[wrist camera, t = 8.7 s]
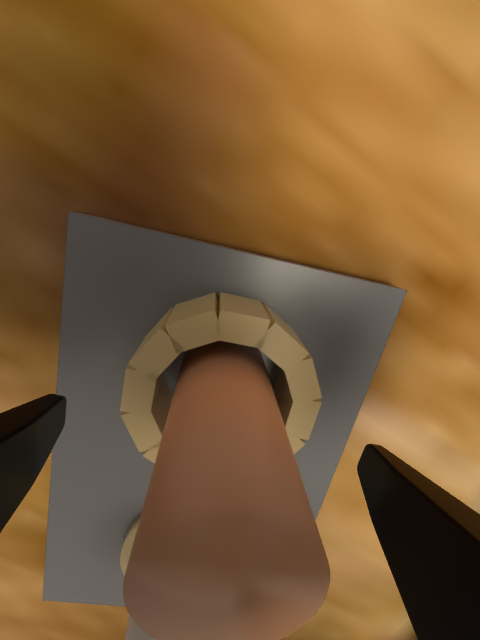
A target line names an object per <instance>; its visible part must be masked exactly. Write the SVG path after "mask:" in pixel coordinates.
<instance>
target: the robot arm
mask: <svg viewBox="0 0 480 640" xmlns="http://www.w3.org/2000/svg"><path fill="white" fill-rule="evenodd" d="M66 405H67V399H66V397H65V396H62V395H56V394H48V395H45V396H43V397H40V398H38V399H35V400H33V401H30V402H28V403H25V404H23V405H20V406H17V407H15V408H12V409H10V410H7V411H5V412H2V413H0V532H1V531H2V529H3V528H4V527H5V525H6V524H7V522H8V521H9V519H10V518H11V516H12V515H13V513H14V512H15V510H16V509H17V507H18V506H19V504H20V503H21V502H22V500H23V499H24V497H25V496H26V494H27V493H28V491H29V490H30V488H31V487H32V485H33V483H34V482H35V480H36V478H37V477H38V475H39V473H40V471H41V469H42V467H43V466H44V464H45V462H46V460H47V458H48V456H49V454H50V453H51V451H52V449H53V447H54V445H55V443H56V441H57V439H58V438H59V436H60V434H61V432H62V430H63V428H64V425H65V418H66ZM357 471H358V476H359V479H360V482H361V486H362V489H363V493H364V496H365V500H366V503H367V506H368V510H369V513H370V517H371V520H372V523H373V526H374V528H375V531H376V534H377V536H378V539H379V541H380V544H381V547H382V549H383V552H384V554H385V557H386V559H387V562H388V565H389V567H390V570H391V572H392V575H393V577H394V580H395V582H396V585H397V588H398V590H399V593H400V595H401V598H402V600H403V603H404V606H405V608H406V611H407V613H408V616H409V618H410V621H411V624H412V626H413V629H414V631H415V634H416V636H417V639H418V640H480V514H478V513H477V512H475V511H474V510H473V509H471V508H470V507H468V506H467V505H465V504H464V503H463V502H461V501H460V500H458V499H457V498H455V497H454V496H452V495H451V494H450V493H448V492H447V491H445V490H444V489H442V488H441V487H440V486H438V485H437V484H435V483H434V482H432V481H431V480H430V479H428V478H427V477H425V476H424V475H422V474H421V473H420V472H418V471H417V470H415V469H414V468H412V467H411V466H410V465H408V464H407V463H405V462H404V461H402V460H401V459H400V458H398V457H397V456H395V455H394V454H392V453H391V452H390V451H388V450H387V449H385V448H384V447H382V446H380V445H375V444H367V445H366V446H365V448H364V451H363V453H362V455H361V458H360V460H359V463H358V466H357Z"/></svg>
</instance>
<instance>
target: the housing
mask: <svg viewBox="0 0 480 640" xmlns="http://www.w3.org/2000/svg"><path fill="white" fill-rule="evenodd" d="M406 292H407V290H404V289H401V288H398V287H396V286H393V285H388V284H384V283H380V282H375V281H371V280H367V279H363V278H358V277H354V276H350V275H346V274H341V273H337V272H333V271H329V270H324V269H320V268H316V267H312V266H307V265H303V264H299V263H294V262H290V261H286V260H282V259H277V258H273V257H269V256H265V255H260V254H256V253H252V252H248V251H243V250H239V249H235V248H231V247H226V246H222V245H218V244H213V243H209V242H205V241H201V240H196V239H192V238H188V237H184V236H179V235H175V234H171V233H167V232H162V231H158V230H154V229H150V228H145V227H141V226H137V225H132V224H128V223H124V222H120V221H115V220H111V219H107V218H103V217H98V216H94V215H90V214H86V213H81V212H68V223H67V238H66V254H65V269H64V284H63V299H62V314H61V329H60V344H59V360H58V375H57V390H56V395H62V396H65V397H66V399H67V405H66V418H65V425H64V428H63V430H62V432H61V434H60V436H59V438H58V439H57V441H56V443H55V445H54V447H53V450H52V465H51V481H50V496H49V511H48V526H47V541H46V556H45V571H44V586H43V600H44V601H58V602H72V603H85V604H99V605H113V606H126V605H125V602H124V598H123V580H124V576H125V572H126V568H127V565H128V561H129V557H130V554H131V550H132V546H133V542H134V539H135V535H136V531H137V528H138V524H139V520H140V516H141V513H142V509H143V505H144V502H145V498H146V494H147V490H148V487H149V483H150V479H151V475H152V472H153V468H154V464H155V461H156V457H157V453H158V449H159V446H160V442H161V438H162V435H163V431H164V427H165V423H166V420H167V416H168V412H169V409H170V405H171V401H172V397H173V394H174V390H175V386H176V383H177V379H178V375H179V371H180V368H181V364H182V360H183V357H184V355H185V353H186V352H187V350H190V349H193V348H196V347H200V346H203V345H206V344H209V343H213V342H216V341H219V340H220V341H225V342H230V343H235V344H240V345H245V346H251V347H256V348H258V349H259V351H260V353H261V355H262V357H263V360H264V363H265V366H266V369H267V372H268V376H269V379H270V382H271V385H272V388H273V391H274V394H275V397H276V400H277V404H278V407H279V410H280V413H281V416H282V419H283V422H284V425H285V429H286V432H287V435H288V438H289V441H290V444H291V447H292V450H293V454H294V457H295V460H296V463H297V466H298V469H299V472H300V475H301V478H302V482H303V485H304V488H305V491H306V494H307V497H308V500H309V503H310V507H311V510H312V513H313V516H314V519H315V520H316V517H317V515H318V512H319V510H320V507H321V505H322V502H323V500H324V497H325V495H326V492H327V490H328V487H329V485H330V482H331V480H332V477H333V475H334V472H335V470H336V467H337V465H338V462H339V460H340V457H341V455H342V452H343V450H344V447H345V445H346V442H347V440H348V437H349V435H350V432H351V430H352V427H353V425H354V422H355V420H356V417H357V415H358V412H359V410H360V407H361V405H362V402H363V400H364V397H365V395H366V392H367V390H368V387H369V385H370V382H371V380H372V377H373V375H374V372H375V370H376V367H377V365H378V362H379V360H380V357H381V355H382V352H383V350H384V347H385V345H386V342H387V340H388V337H389V335H390V332H391V330H392V327H393V325H394V322H395V320H396V317H397V315H398V312H399V310H400V307H401V305H402V302H403V300H404V297H405V295H406ZM124 640H156V639H155V638H153V637H151V636H150V635H149V634H147V633H146V632H144V631H143V630H142V629H141V628H140V627H139V626H138V625H137V624H136V623H135V621H134V620H133V619H132V617H131V616H129V620H128V625H127V629H126V633H125V638H124Z"/></svg>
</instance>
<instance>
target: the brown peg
mask: <svg viewBox="0 0 480 640" xmlns="http://www.w3.org/2000/svg"><path fill="white" fill-rule="evenodd" d="M329 583H330V568H329V563H328V560H327V556H326V553H325V550H324V547H323V544H322V541H321V538H320V535H319V531H318V528H317V525H316V522H315V519H314V516H313V513H312V510H311V507H310V503H309V500H308V497H307V494H306V491H305V488H304V485H303V482H302V478H301V475H300V472H299V469H298V466H297V463H296V460H295V457H294V454H293V450H292V447H291V444H290V441H289V438H288V435H287V432H286V429H285V425H284V422H283V419H282V416H281V413H280V410H279V407H278V404H277V400H276V397H275V394H274V391H273V388H272V385H271V382H270V379H269V376H268V372H267V369H266V366H265V363H264V360H263V357H262V355H261V353H260V351H259V349H258V348H256V347H251V346H245V345H240V344H235V343H230V342H225V341H220V340H219V341H216V342H213V343H209V344H206V345H203V346H200V347H196V348H193V349H190V350H187V352H186V353H185V355H184V357H183V360H182V364H181V368H180V371H179V375H178V379H177V383H176V386H175V390H174V394H173V397H172V401H171V405H170V409H169V412H168V416H167V420H166V423H165V427H164V431H163V435H162V438H161V442H160V446H159V449H158V453H157V457H156V461H155V464H154V468H153V472H152V475H151V479H150V483H149V487H148V490H147V494H146V498H145V502H144V505H143V509H142V513H141V516H140V520H139V524H138V528H137V531H136V535H135V539H134V542H133V546H132V550H131V554H130V557H129V561H128V565H127V568H126V572H125V576H124V580H123V598H124V602H125V605H126V608H127V610H128V612H129V614H130V616H131V617H132V619H133V620H134V621H135V623H136V624H137V625H138V626H139V627H140V628H141V629H142V630H143V631H144V632H146V633H147V634H149V635H150V636H151V637H153V638H155V639H156V640H281V639H283V638H285V637H287V636H289V635H290V634H292V633H293V632H295V631H296V630H298V629H299V628H301V627H302V626H303V625H304V624H305V623H307V622H308V621H309V620H310V619H311V618H312V617H313V616H314V615H315V613H316V612H317V611H318V609H319V608H320V607H321V605H322V603H323V601H324V599H325V597H326V594H327V592H328V589H329Z"/></svg>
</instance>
